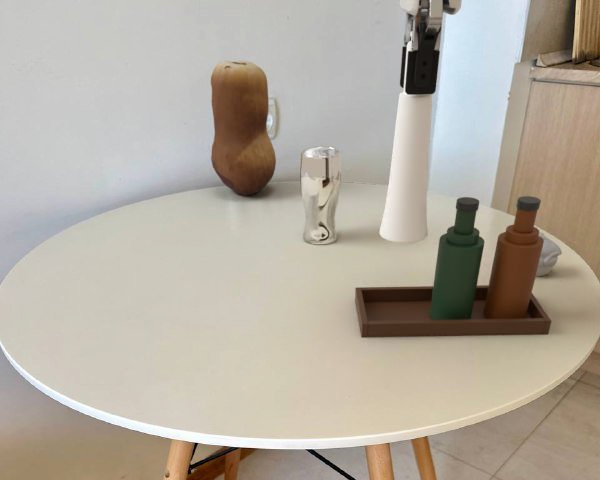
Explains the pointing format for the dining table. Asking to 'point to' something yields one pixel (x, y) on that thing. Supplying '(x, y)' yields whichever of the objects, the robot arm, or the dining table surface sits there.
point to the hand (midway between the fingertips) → (417, 88)
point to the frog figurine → (547, 256)
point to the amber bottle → (515, 264)
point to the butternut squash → (241, 127)
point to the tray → (417, 322)
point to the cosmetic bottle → (408, 169)
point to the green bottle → (458, 265)
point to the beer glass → (320, 192)
